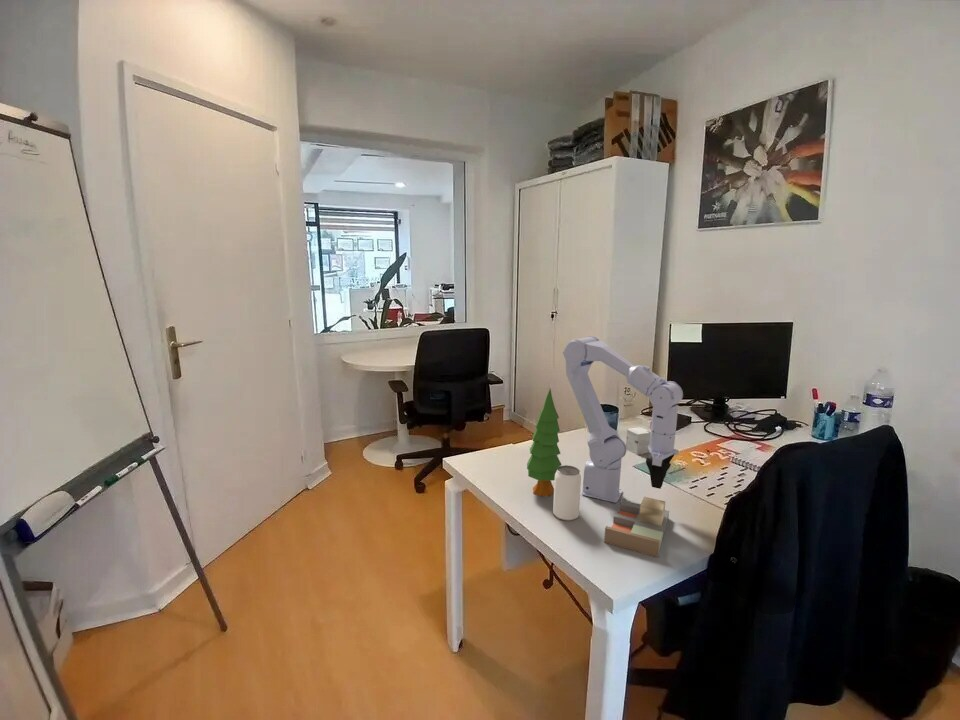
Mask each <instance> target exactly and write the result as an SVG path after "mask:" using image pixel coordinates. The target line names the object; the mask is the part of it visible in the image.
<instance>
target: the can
mask: <svg viewBox="0 0 960 720" xmlns="http://www.w3.org/2000/svg"><path fill="white" fill-rule="evenodd" d="M580 472H581V471H580V469H579V468H577V467H576V466H573V465H567V464H566V465H561V466H559V467H558V468H557V471H556V473H555V480H553V481H554V482H553V488H554V493H553V504H552V505H553V506H552V507H553V508H552V513H553V515H554V516H555V517H556V518H557V519H559V520H563V521H566V522H567V521H573V520H576V519H578V517H579V514H580V506H581V505H580V503H581V486H582V484H581V483H582V475H581V474H580Z"/></svg>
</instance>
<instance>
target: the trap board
mask: <svg viewBox="0 0 960 720" xmlns="http://www.w3.org/2000/svg"><path fill="white" fill-rule="evenodd" d="M640 505H641V503H636V502H634V501H629V500H625V499H624V500H623V499H622V500H621V501H620V504H619V511H618V513H614V515H613V520H612V522H613V524H611V525H612V526H608V525H606V526H605V527H604V529H605V530H604V539H603V540H604V541H603V542H604V543H606V544H610V545H613V546H617V547H620V548H623V549H627V550H631V551H634V552H638V553H641V554H645V555H648V556H652V557H656V558H658V557H659V553H660V551H661V550H660V549H661V546H662V542H663V540H664V535H665V532H666V529H667V525H668V521H669V517H670V510H667V509H665V512H664V518H663V522H662V525H661V526H659V525H655V524H651V523H647V522H643V521H639V515H640Z"/></svg>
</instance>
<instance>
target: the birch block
mask: <svg viewBox="0 0 960 720" xmlns="http://www.w3.org/2000/svg"><path fill="white" fill-rule="evenodd" d="M666 503H667V501H666V500H665V501H664V500H662V499H658V498H653V497H647V496H643V498H642V501H641V503H640V504H641V505H640V515H639V521H643V522H647V523H651V524H655V525H659V526H661V525H662V522H663V518H664V512H665V510H666V509H665V508H666Z"/></svg>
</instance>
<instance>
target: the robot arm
mask: <svg viewBox="0 0 960 720" xmlns="http://www.w3.org/2000/svg"><path fill="white" fill-rule="evenodd" d="M562 355H563V357H564V359H565V372H566V373H565V374H566V377H567V380H568V382H569V384H570V387H571V389H572V392H573V394H574V397H575V399H576V401H577V404H578V406H579V409H580V411H581V413H582V416H583V419H584V421H585V423H586V426H587V429H588V430H589V437H588V440H587V445H588V449H589V458H590V459H587V460H586V463H585V464H584V469H583V479H582V492H581V495H583V496H585V497H591V498H593V499H594V498H595V499H598V500H603V501H607V502H610V503H618V501H619V499H620V497H621V495H622V494H623V491H624V490H623V489H622V488H620V483H621V472H622V458H624V457H625V456H626V454H627V451H628V450H627V448H626V441H624V440H623V439H622V438H621V436H619V433H618V431H617V430H616V429H614V428H613V427H611V426H610V425H609V422H608V419H607V417H606V414H605V412H604V410H603V408H602V405H601V403H600V400H599V398H598V395H597V393H596V391H595V389H594V386H593V383H592V380H591V379H590V376H589V370H590V368H591V367H592V365H593V363H594V362H602V363H603V364H605V365H607V366H608V367H610V368H611V369H613V370H615V371H617V372H618V373H619V374H622V375H623V376H624V377H626V382H627V384H628V385H629V386H631V387H632V388H634V389H636V390H637V391H638V392H640V393H641V394H643V395H644V396H646V397H647V398H648V399H649V401H650V403H651V405H652V413H651V424H650V432H651V433H650V445H649V447H648V450H649V453H650V455H651V457H652V458H651V457H646V459H645V465H646V466H647V468H648V472H649V477H650V484H651V487H652V488H653V489H662V487H663V484H664V480H665V478H666V475H667V473H668V471H669V469H670V468H671V466H672V463H671V461H672V459H673V458H674V456H677V455H679V454H680V450H679V449H676V448H675V444H676V443H675V442H676V434H677V432H676V431H677V424H678V423H677V422H678V410H679V409H678V408H679V403H680V402H681V401H682V400H683V397H684V392H683V389H682V387H681V385H679V384H678V383H677V382H676V381H671V380H669V381H667V379H666V378H665V377H664V376H662V377H660V376H659V375H657V374H656V373H654V372H653V371H651V370H650V369H651V367H650V366H648V365H643V364H639V365H634V364H632V363H631V362H630V361H628V360H627V359H626V358H624V357H623V356H621V355H620V354H619V353H618V352H616V351H615V350H614V349H612V348H611V347H610V346H609V345H607V344H606V342H605V341H603V340H600V339H599V338H598V337H596V336H593V335H590V336H588V337H582V338H572V339H571V340H568V341H567V343H566V345H565V347H564V349H563V351H562Z"/></svg>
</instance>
